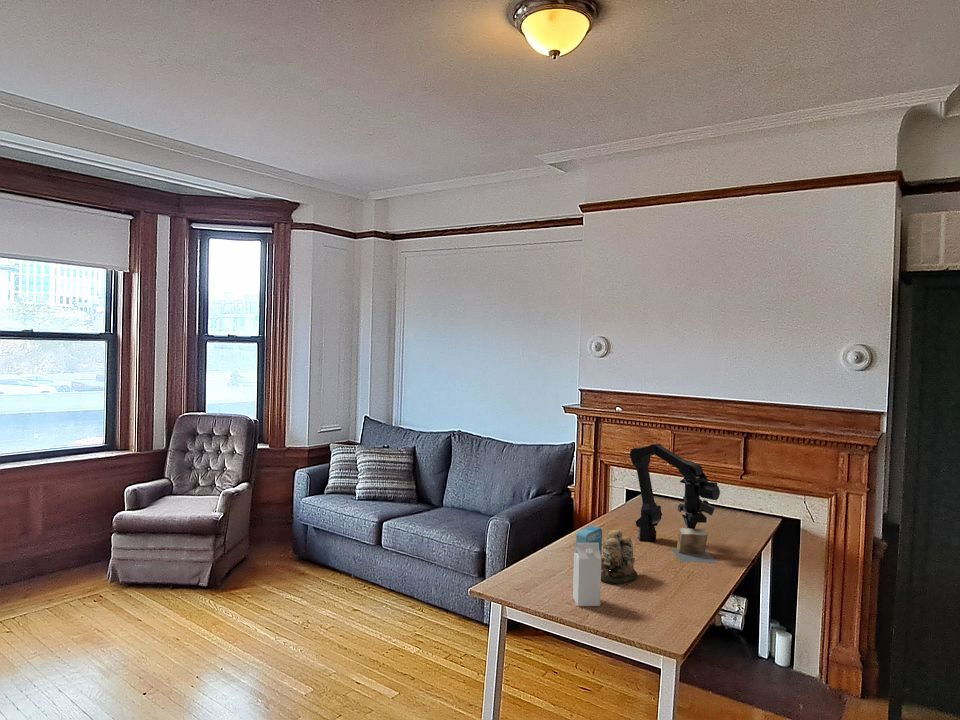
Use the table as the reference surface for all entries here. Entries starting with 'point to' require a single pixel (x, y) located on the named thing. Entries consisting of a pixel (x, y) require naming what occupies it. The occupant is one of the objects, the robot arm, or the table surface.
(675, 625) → the table surface
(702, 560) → the mat
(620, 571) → the owl figurine
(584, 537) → the data package
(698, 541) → the slab
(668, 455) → the robot arm
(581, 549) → the milk carton
